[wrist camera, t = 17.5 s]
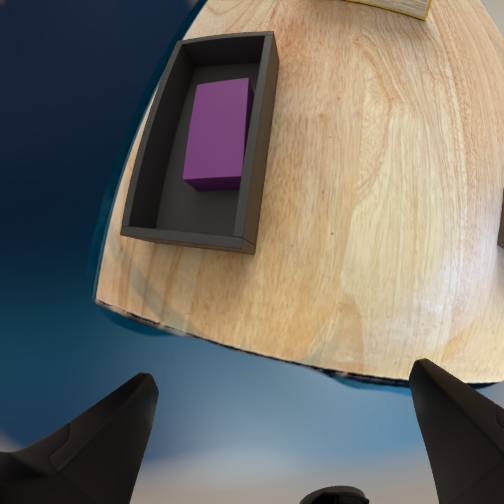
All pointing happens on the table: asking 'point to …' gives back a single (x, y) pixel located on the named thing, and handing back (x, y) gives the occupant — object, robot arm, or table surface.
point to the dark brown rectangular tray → (175, 144)
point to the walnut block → (501, 227)
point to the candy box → (402, 6)
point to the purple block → (218, 135)
